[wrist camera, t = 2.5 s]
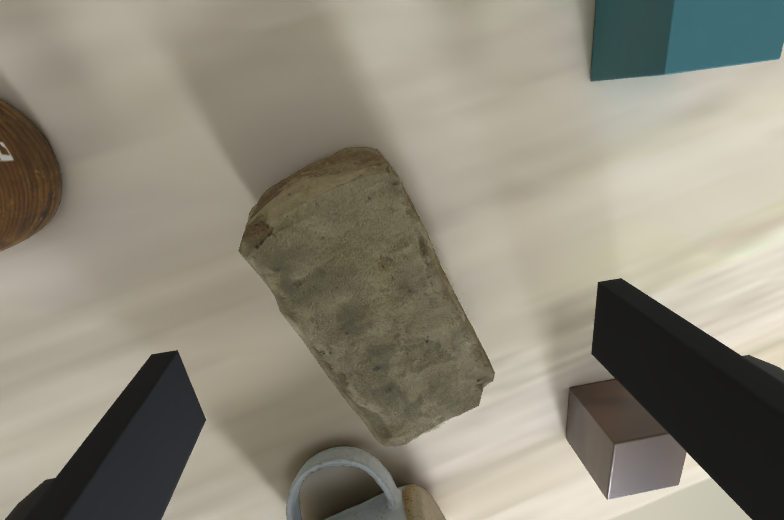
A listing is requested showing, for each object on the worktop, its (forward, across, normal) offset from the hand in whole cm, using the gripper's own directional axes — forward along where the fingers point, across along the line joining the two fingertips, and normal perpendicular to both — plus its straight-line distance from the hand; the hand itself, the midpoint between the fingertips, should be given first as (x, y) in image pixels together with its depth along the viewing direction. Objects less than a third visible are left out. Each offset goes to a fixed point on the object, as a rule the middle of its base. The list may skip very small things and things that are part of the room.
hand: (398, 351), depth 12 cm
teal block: (+7, -12, -9) cm, 16 cm away
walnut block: (+6, -12, +11) cm, 17 cm away
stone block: (+7, 0, 0) cm, 7 cm away
